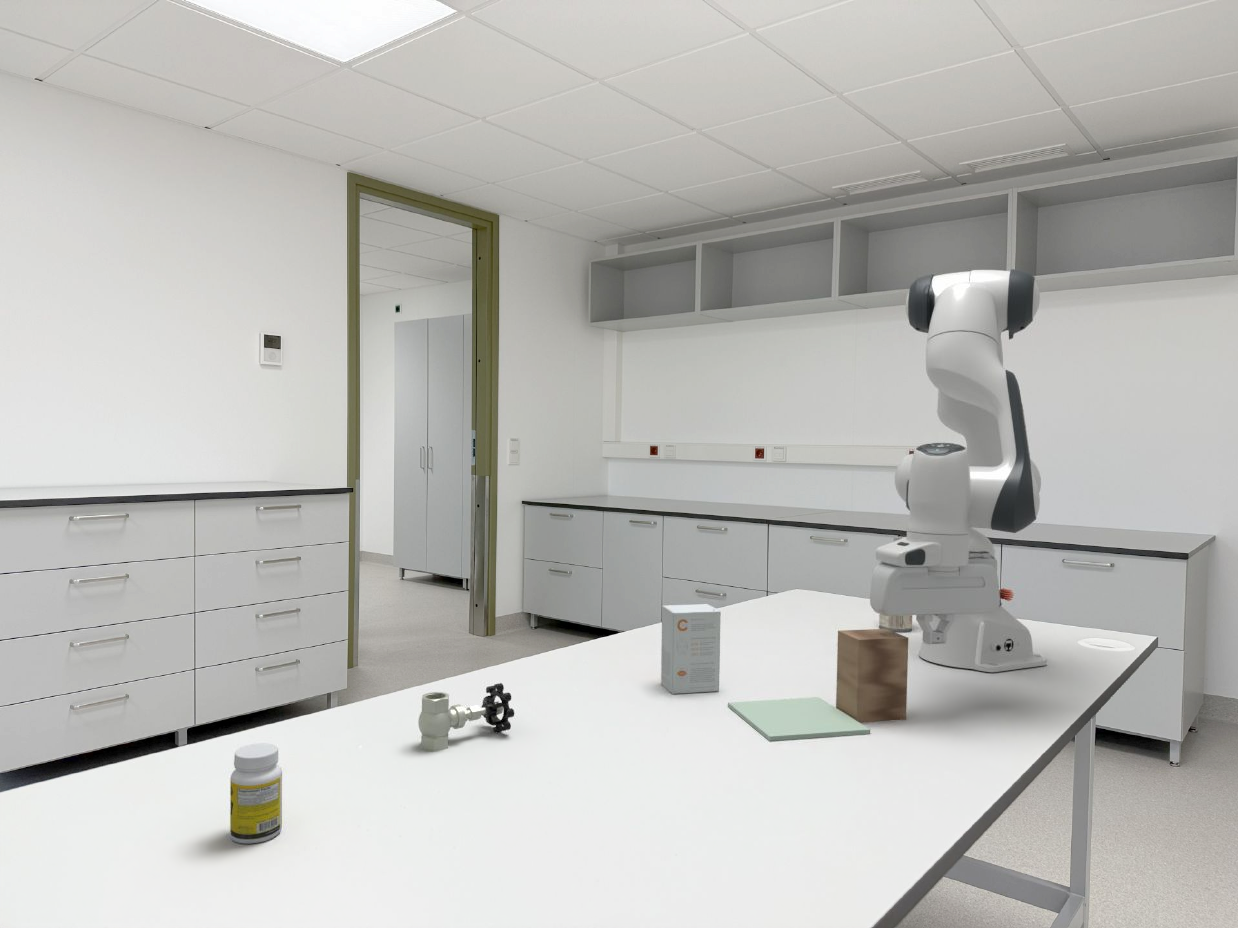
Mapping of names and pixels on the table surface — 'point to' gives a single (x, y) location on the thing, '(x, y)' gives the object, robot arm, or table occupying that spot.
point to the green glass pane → (797, 718)
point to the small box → (690, 648)
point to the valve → (460, 716)
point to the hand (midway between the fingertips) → (934, 643)
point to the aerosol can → (896, 619)
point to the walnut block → (872, 675)
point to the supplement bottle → (256, 794)
